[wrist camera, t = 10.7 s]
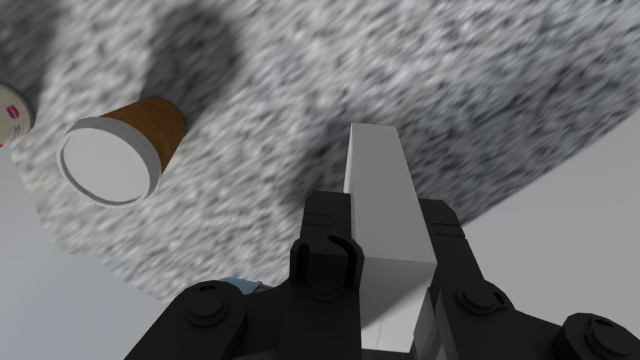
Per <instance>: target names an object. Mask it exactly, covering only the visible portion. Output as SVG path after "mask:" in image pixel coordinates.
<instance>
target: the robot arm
mask: <svg viewBox="0 0 640 360" xmlns="http://www.w3.org/2000/svg"><path fill="white" fill-rule="evenodd" d="M262 283H263V282H260V281H257V282H252V281H247V280H242V279H237V278H232V277H227V278H223V279H221V280H219V281H217V280H211V281H205V282H199V283H197V284H195V285H193V286H191V287H188V288H186V289H185V290H184V291H183V292H181V293H180V294H179V295H178V296H177V297H176V298H175V299H174V300H173V301H172V302H171V303H170V305H169V306H168V307H167V308H166V309H165V311H164V312H163V313H162V314H161V315H160V317H159V318H158V319H157V320H156V321H155V323H154V324H153V325H152V326H151V327H150V329H149V330H148V331H147V332H146V333H145V335H144V336H143V337H142V338H141V339H140V341H139V342H138V343H137V344H136V345H135V347H134V348H133V349H132V350H131V352H130V353H129V354H128V355H127V356H126V357H125V359H124V360H640V340H639V339H638V338H637V337H635V336H634V335H633V334H632V333H630V332H629V331H627V329H625V328H624V327H622V326H620V325H618V324H617V323H615V322H613V321H611V320H609V319H607V318H604V317H601V316H598V315H594V314H592V313H576V314H573V315H570V316H568V317H567V319H566V321H565V322H564V324H563V325H562V326H559V325H556V324H553V323H550V322H548V321H544V320H542V319H539V318H536V317H533V316H530V315H527V314H525V313H522V312H520V311H518V310H516V309H515V308H514V306H513V304H512V303H511V301H510V300H509V298H508V297H507V296H506V294H505V293H504V292H503V291H501V290H500V289H499V288H498V287H496V286H495V285H494V284H492V283H490V282H488V281H486V280H484V278H483V275H482V273H481V271H480V268H479V266H478V264H477V262H476V259H475V257H474V255H473V253H472V250H471V248H470V246H469V243H468V241H467V239H465V234H464V232H463V230H462V228H460V223H459V220H458V218H457V216H456V214H455V212H454V211H453V210H452V209H451V208H450V207H449V206H448V205H447V204H446V203H445V202H444V201H443V200H432V199H421V198H417V195H416V192H415V188H414V185H413V182H412V178H411V175H410V172H409V169H408V165H407V162H406V159H405V156H404V152H403V149H402V146H401V142H400V139H399V136H398V133H397V129H396V126H388V125H376V124H364V123H351V132H350V140H349V149H348V157H347V165H346V174H345V182H344V193H338V192H327V191H316V190H315V191H314V192H313V193H312V194H311V195H310V196H309V197H308V198H307V200H306V202H305V208H304V215H303V220H302V226H301V232H300V238H299V239H297V240H296V241H295V242H294V244H293V246H292V248H291V250H290V272H289V278H288V279H287V280H285V281H284V282H283V283H282V284H280V285H278V286H276V287H272V286H268V285H264V284H262Z"/></svg>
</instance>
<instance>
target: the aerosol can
mask: <svg viewBox="0 0 640 360" xmlns="http://www.w3.org/2000/svg"><path fill="white" fill-rule="evenodd" d="M34 122H35V118H34V112H33V110H32V108H31V106H30V104H29V103H28V101H27V100H26V99H25V97H24V96H23V95H22V94H20V93H19V92H18V91H17V90H16V89H14V88H12V87H11V86H9V85H7V84H4V83H1V82H0V147H2V146H4V145H6V144H7V143H9V142H11V141H13V140H15V139H17V138H19V137H21V136H22V135H24V134H26V133H28V132H29V131H30V130H31V129H32V128H33V126H34Z"/></svg>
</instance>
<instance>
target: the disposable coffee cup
mask: <svg viewBox="0 0 640 360" xmlns="http://www.w3.org/2000/svg"><path fill="white" fill-rule="evenodd" d="M185 131H186V124H185V120H184V117H183V115H182V113H181V112H180V111H179V109H178V108H177V107H176V106H175V105H173V104H172V103H171V102H169V101H167V100H165V99H162V98H158V97H149V98H145V99H143V100H140V101H138V102H135V103H132V104H130V105H127V106H125V107H122V108H120V109H117V110H114V111H112V112H109V113H107V114H104V115H101V116H99V117H88V118H84V119H80V120H77V121H75V122H74V123H72V124H71V125H69V126H68V127H67V128H66V129H65V131H64V133H63V134H62V137H61V140H60V142H59V144H58V146H57V150H56V161H57V164H58V167H59V170H60V173H61V174H62V176H63V178H64V179H65V181H66V182H67V183H68V184H69V186H70V187H71V188H72V189H73V190H75V191H76V192H77V193H78V194H79V195H81V196H82V197H83V198H85V199H87V200H89V201H90V202H92V203H95V204H97V205H100V206H103V207H107V208H114V209H124V208H128V207H133V206H135V205H137V204H141V203H143V202H145V201H147V200H149V199H150V198H151V197H152V196H154V194H155V193H156V191H157V190H158V188H159V186H160V182H161V177H162V174H163V172H164V171H165V168H166V167H167V165H168V163H169V161H170V160H171V158H172V156H173V154H174V153H175V151H176V149H177V147H178V145H179V144H180V142H181V140H182V139H183V137H184V135H185Z"/></svg>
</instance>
